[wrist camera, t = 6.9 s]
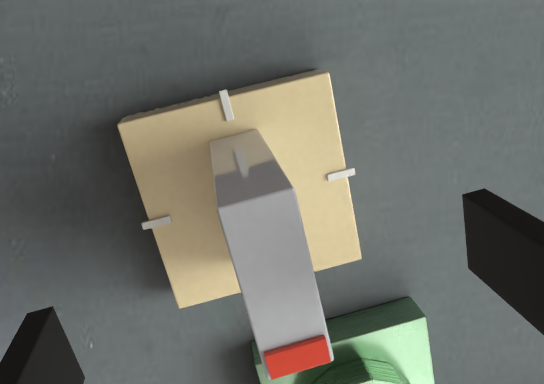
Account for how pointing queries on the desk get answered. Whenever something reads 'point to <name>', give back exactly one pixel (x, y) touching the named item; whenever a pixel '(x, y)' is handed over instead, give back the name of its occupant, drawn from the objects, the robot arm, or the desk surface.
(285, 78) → the panel
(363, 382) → the control block
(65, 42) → the desk surface
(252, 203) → the tap handle
